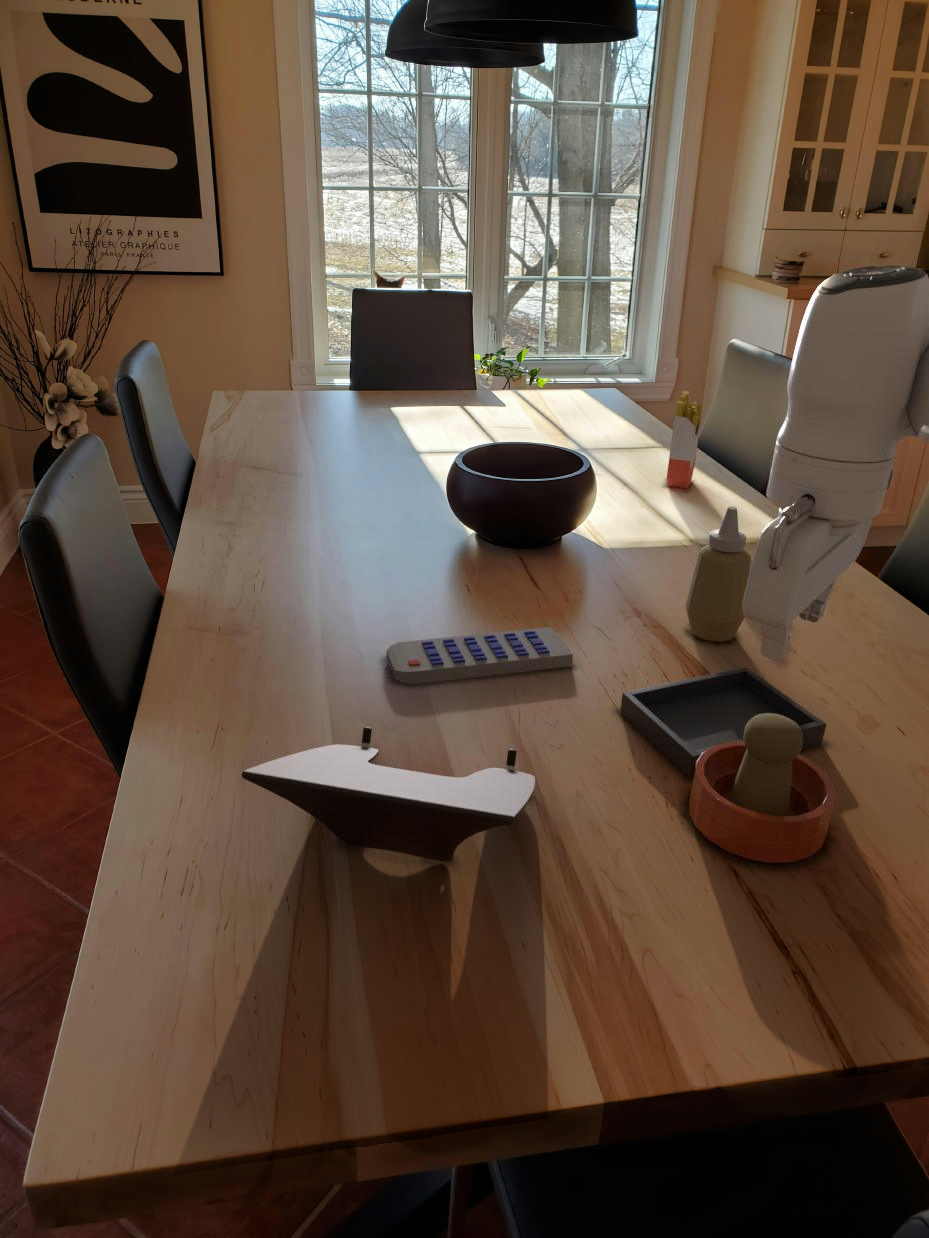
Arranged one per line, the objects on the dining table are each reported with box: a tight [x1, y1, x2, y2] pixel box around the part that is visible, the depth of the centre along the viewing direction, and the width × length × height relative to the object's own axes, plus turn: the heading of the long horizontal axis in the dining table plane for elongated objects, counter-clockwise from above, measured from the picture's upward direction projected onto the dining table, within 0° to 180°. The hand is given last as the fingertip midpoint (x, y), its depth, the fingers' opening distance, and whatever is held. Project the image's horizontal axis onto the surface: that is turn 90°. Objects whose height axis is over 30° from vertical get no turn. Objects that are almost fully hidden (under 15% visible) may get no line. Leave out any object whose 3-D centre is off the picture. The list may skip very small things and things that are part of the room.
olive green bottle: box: [728, 713, 803, 816], centre depth 84 cm, size 6×6×11 cm
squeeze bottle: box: [685, 506, 751, 642], centre depth 119 cm, size 8×8×18 cm
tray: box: [619, 667, 827, 778], centre depth 101 cm, size 18×14×3 cm
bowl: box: [688, 741, 837, 864], centre depth 86 cm, size 13×13×5 cm
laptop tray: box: [241, 726, 536, 863], centre depth 83 cm, size 23×23×9 cm
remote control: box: [386, 626, 574, 685], centre depth 114 cm, size 8×23×2 cm, turn 105°
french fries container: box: [666, 390, 703, 490], centre depth 181 cm, size 5×11×18 cm, turn 160°
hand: (792, 636), depth 78 cm, fingers open, 8 cm apart
